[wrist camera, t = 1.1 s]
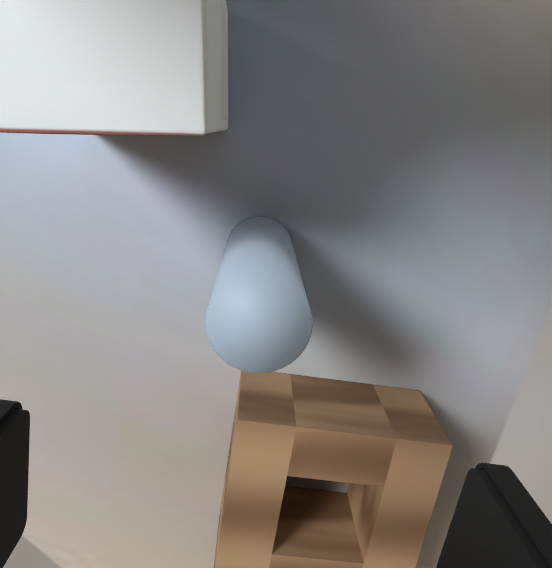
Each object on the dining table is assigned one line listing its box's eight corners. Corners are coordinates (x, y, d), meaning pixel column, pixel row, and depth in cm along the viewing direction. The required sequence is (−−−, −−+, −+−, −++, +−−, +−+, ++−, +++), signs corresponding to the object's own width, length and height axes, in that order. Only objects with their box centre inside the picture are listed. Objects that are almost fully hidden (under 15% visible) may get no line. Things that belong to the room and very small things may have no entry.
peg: (230, 211, 29) (211, 266, 18) (297, 222, 30) (321, 281, 18) (222, 276, 30) (199, 366, 19) (286, 285, 31) (302, 379, 19)
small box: (85, 129, 28) (-57, 132, 15) (74, 1, 26) (-99, -115, 13) (231, 133, 28) (208, 138, 16) (231, 6, 26) (204, -103, 14)
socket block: (241, 368, 32) (237, 419, 27) (419, 390, 33) (452, 445, 28) (219, 516, 36) (211, 590, 30) (380, 533, 37) (403, 608, 31)
